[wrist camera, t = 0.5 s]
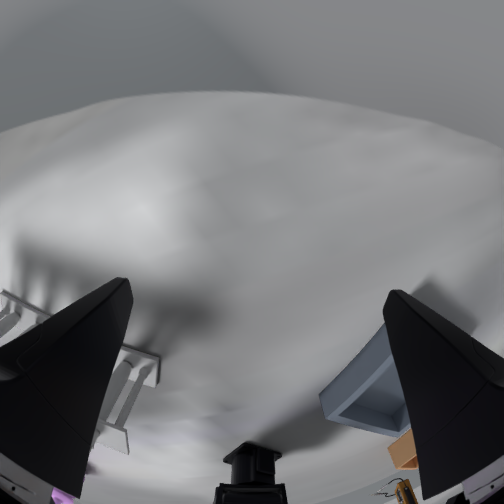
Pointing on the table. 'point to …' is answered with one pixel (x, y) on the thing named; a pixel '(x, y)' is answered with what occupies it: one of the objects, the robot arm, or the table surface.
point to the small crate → (404, 452)
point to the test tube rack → (126, 367)
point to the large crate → (368, 391)
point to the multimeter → (403, 492)
